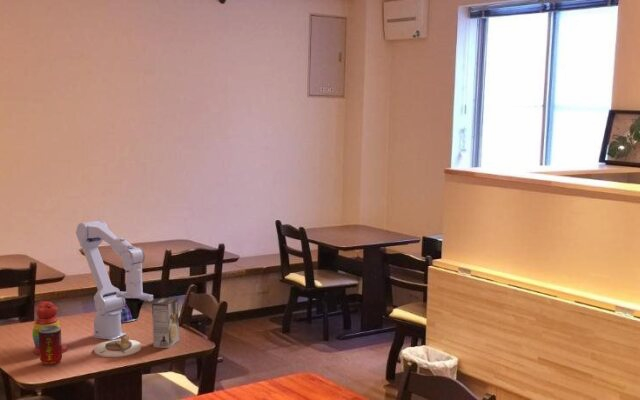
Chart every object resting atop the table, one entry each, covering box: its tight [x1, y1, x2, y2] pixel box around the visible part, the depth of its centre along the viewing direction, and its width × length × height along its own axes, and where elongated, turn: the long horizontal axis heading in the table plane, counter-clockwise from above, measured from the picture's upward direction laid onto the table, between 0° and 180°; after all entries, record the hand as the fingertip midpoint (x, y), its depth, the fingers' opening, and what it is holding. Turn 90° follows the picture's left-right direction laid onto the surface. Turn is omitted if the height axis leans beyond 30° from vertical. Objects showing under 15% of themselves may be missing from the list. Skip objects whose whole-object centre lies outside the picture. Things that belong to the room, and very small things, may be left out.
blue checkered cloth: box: [121, 305, 137, 323], centre depth 309 cm, size 12×12×5 cm
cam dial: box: [105, 335, 132, 351], centre depth 268 cm, size 13×9×5 cm
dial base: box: [93, 339, 142, 358], centre depth 271 cm, size 16×16×1 cm
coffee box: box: [151, 297, 180, 349], centre depth 276 cm, size 9×6×16 cm
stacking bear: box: [32, 300, 68, 356], centre depth 269 cm, size 11×10×18 cm
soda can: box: [38, 326, 63, 367], centre depth 256 cm, size 7×7×12 cm
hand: (135, 318), depth 276 cm, fingers closed
